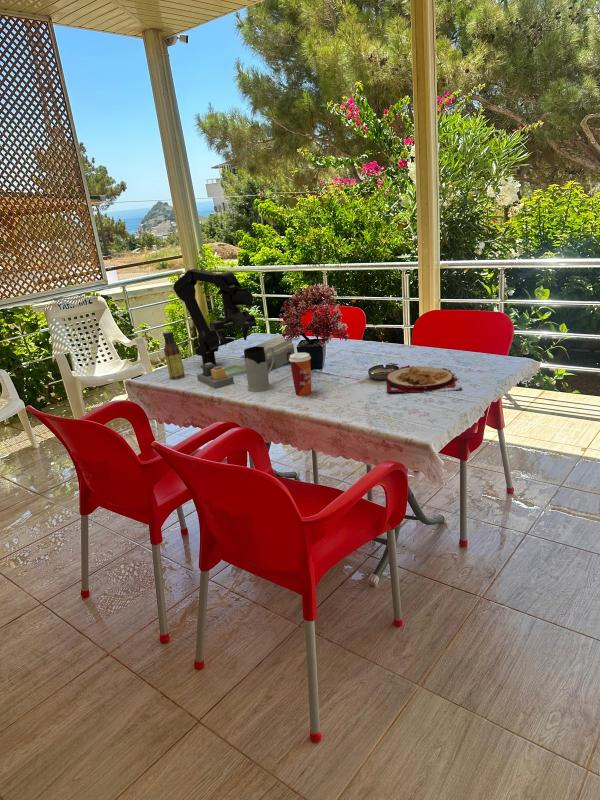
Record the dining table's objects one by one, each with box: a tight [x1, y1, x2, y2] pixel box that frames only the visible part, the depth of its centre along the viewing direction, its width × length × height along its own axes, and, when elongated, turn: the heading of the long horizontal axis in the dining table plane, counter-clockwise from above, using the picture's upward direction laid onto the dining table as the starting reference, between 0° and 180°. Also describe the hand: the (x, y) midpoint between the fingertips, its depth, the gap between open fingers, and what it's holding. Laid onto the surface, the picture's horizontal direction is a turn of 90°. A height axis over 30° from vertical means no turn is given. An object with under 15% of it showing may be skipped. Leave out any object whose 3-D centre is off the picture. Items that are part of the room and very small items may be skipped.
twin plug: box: [201, 363, 216, 377], centre depth 220 cm, size 4×4×7 cm
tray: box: [222, 363, 246, 377], centre depth 229 cm, size 11×11×2 cm
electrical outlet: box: [239, 336, 300, 371], centre depth 233 cm, size 12×28×10 cm, turn 138°
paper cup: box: [289, 352, 312, 397], centre depth 194 cm, size 8×8×14 cm
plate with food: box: [385, 362, 463, 394], centre depth 196 cm, size 25×26×4 cm
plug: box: [211, 365, 226, 381], centre depth 214 cm, size 4×4×7 cm
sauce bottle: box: [162, 330, 185, 381], centre depth 227 cm, size 7×6×20 cm
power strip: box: [196, 372, 235, 390], centre depth 218 cm, size 16×8×3 cm, turn 35°
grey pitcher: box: [243, 346, 274, 393], centre depth 206 cm, size 9×14×15 cm, turn 139°
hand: (235, 342), depth 228 cm, fingers open, 9 cm apart
